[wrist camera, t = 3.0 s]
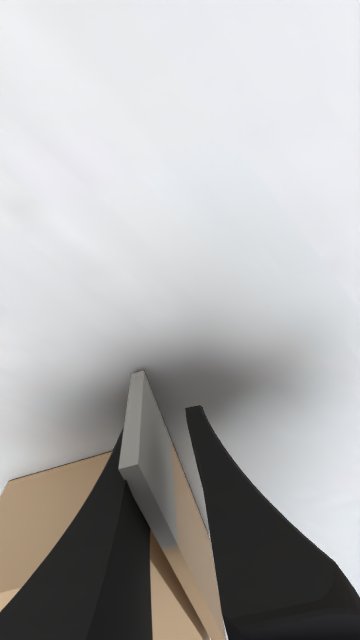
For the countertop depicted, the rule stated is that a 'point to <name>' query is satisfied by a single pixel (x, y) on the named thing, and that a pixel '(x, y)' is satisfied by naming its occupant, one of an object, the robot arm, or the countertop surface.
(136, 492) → the flap
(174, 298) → the countertop surface
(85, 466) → the carton
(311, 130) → the countertop surface
